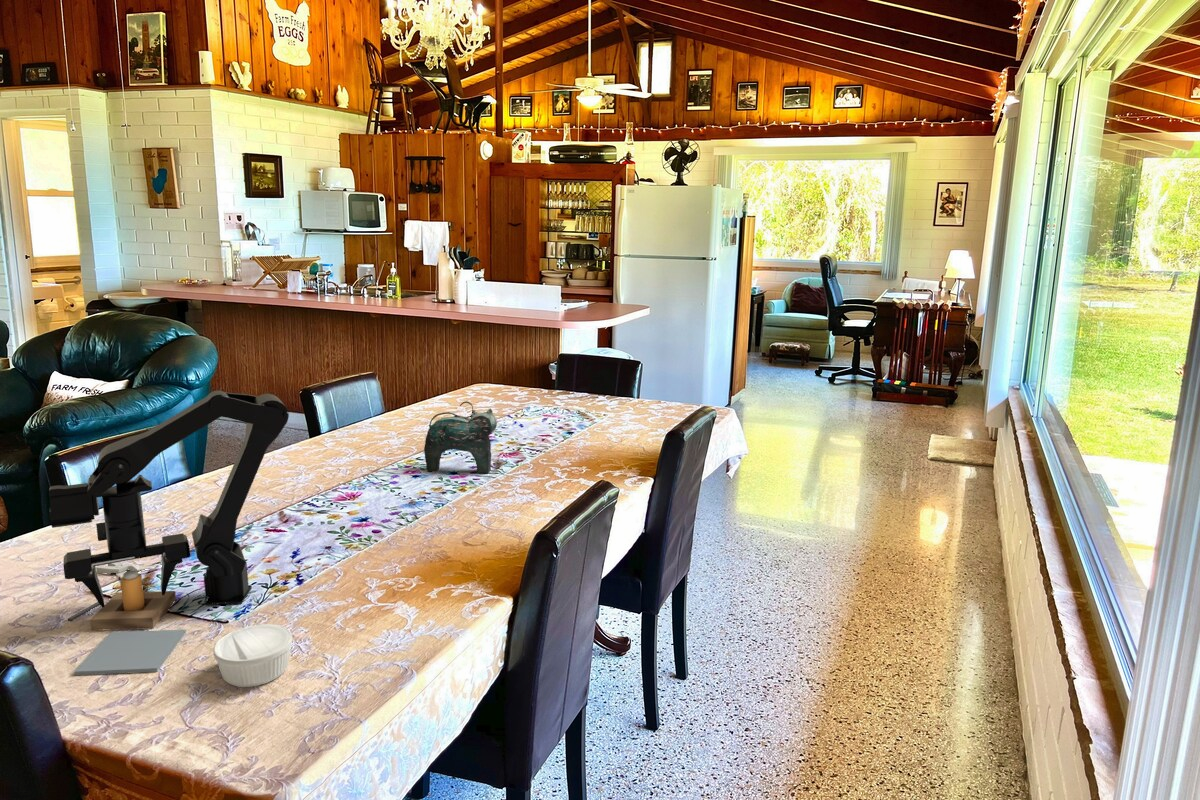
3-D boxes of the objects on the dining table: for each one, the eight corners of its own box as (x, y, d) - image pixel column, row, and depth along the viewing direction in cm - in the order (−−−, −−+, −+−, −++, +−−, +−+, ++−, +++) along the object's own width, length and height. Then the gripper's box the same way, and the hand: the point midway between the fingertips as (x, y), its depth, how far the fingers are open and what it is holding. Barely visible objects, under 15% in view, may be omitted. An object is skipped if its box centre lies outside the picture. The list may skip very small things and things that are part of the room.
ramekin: (199, 682, 124) (196, 651, 122) (254, 647, 134) (251, 618, 133) (257, 699, 120) (254, 667, 119) (308, 661, 130) (307, 631, 129)
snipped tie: (100, 602, 147) (100, 600, 147) (104, 602, 147) (104, 600, 147) (67, 620, 141) (67, 618, 140) (71, 621, 140) (71, 619, 140)
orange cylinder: (148, 610, 145) (144, 569, 143) (141, 619, 142) (136, 577, 140) (129, 611, 144) (124, 569, 142) (121, 619, 141) (116, 577, 139)
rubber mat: (185, 632, 138) (185, 629, 137) (157, 671, 126) (156, 668, 126) (110, 635, 136) (110, 632, 136) (74, 675, 124) (74, 671, 124)
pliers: (146, 584, 152) (81, 574, 155) (147, 592, 152) (82, 581, 156) (185, 563, 161) (122, 553, 165) (185, 570, 162) (123, 561, 165)
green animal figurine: (497, 469, 228) (497, 400, 223) (492, 476, 222) (492, 405, 217) (429, 465, 230) (427, 397, 225) (421, 472, 224) (420, 402, 219)
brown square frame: (176, 600, 148) (175, 590, 148) (153, 628, 139) (152, 617, 138) (118, 602, 147) (116, 592, 147) (91, 630, 138) (89, 619, 137)
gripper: (180, 494, 150) (187, 571, 154) (60, 511, 141) (71, 593, 144) (186, 513, 141) (194, 595, 145) (58, 533, 131) (70, 620, 135)
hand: (133, 600), depth 142 cm, fingers open, 9 cm apart
